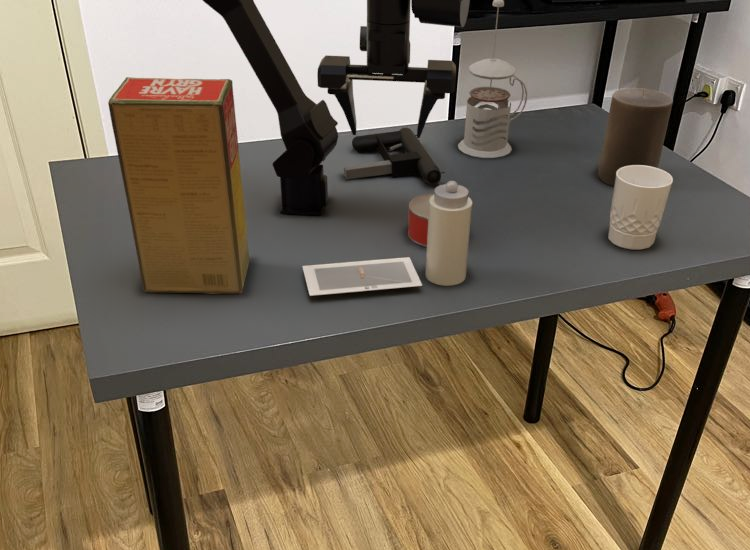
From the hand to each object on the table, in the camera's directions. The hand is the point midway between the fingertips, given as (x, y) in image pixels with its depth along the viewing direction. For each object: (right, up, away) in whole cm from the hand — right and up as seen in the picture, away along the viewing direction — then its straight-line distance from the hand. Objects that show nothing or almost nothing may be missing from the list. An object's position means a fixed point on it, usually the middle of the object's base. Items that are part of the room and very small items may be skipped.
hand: (386, 135), depth 119 cm
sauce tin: (+7, -13, +4) cm, 16 cm away
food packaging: (-25, -21, -7) cm, 34 cm away
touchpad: (-3, -22, -7) cm, 24 cm away
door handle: (0, +2, +24) cm, 24 cm away
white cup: (+36, -14, +5) cm, 39 cm away
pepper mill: (+8, -21, -5) cm, 23 cm away
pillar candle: (+41, 0, +23) cm, 47 cm away
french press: (+18, +8, +32) cm, 38 cm away
